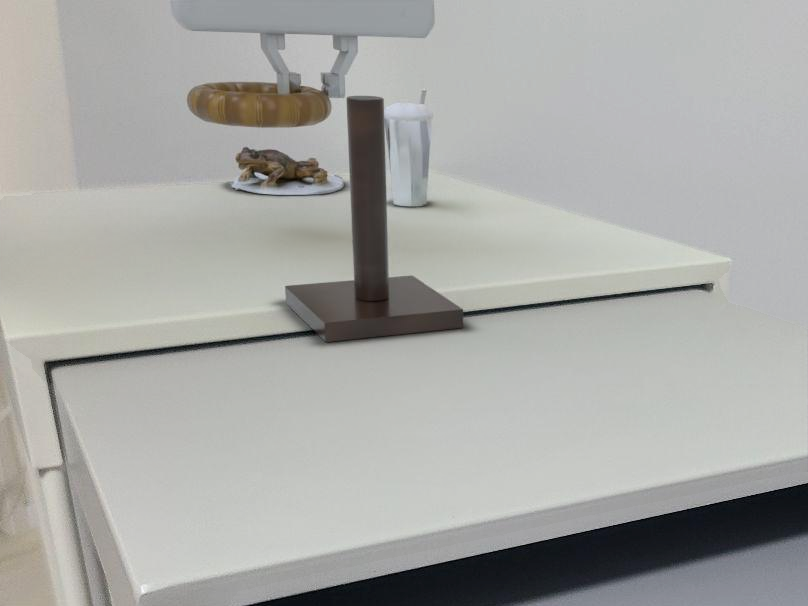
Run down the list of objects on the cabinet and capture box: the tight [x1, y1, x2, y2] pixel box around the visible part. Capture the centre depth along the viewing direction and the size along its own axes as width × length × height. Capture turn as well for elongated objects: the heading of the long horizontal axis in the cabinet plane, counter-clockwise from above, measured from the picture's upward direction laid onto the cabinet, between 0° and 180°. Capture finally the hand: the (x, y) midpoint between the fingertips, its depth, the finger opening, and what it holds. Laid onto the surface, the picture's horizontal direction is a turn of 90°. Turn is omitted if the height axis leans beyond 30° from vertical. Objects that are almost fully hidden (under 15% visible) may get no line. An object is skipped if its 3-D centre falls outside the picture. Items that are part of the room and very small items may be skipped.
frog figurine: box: [229, 146, 345, 196], centre depth 108 cm, size 12×12×4 cm
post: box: [284, 95, 464, 343], centre depth 67 cm, size 9×9×13 cm
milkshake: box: [384, 89, 434, 208], centre depth 101 cm, size 4×5×10 cm
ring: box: [186, 81, 333, 129], centre depth 85 cm, size 11×11×2 cm
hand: (311, 97), depth 86 cm, fingers closed on ring, 2 cm apart
